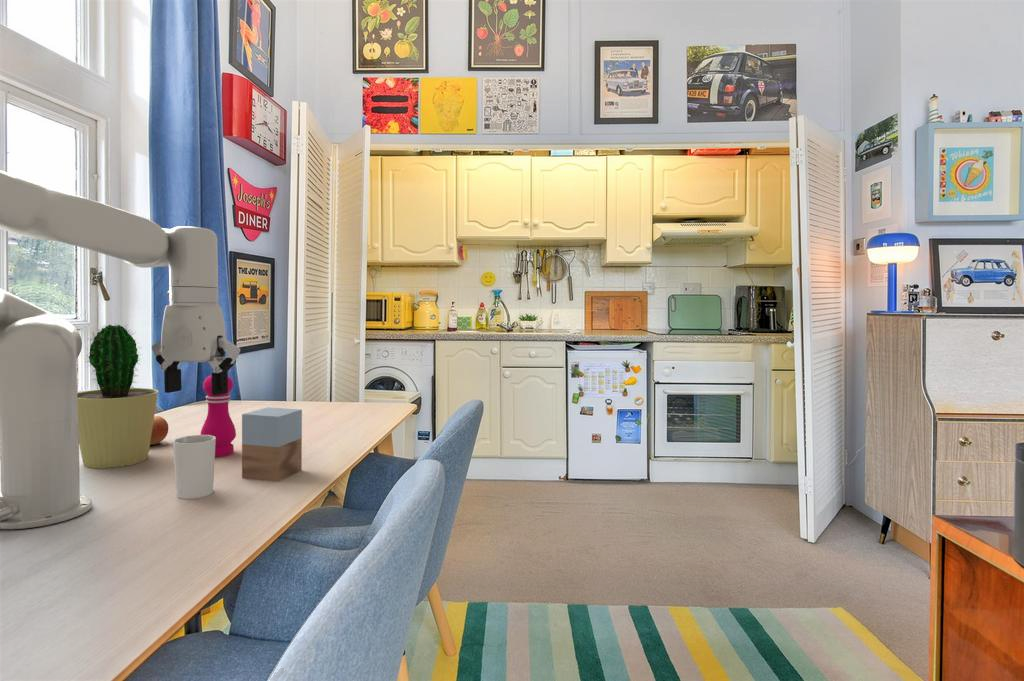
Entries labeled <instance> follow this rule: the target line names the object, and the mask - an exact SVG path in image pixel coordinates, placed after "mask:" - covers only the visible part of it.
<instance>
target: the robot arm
mask: <svg viewBox="0 0 1024 681" xmlns="http://www.w3.org/2000/svg"><path fill="white" fill-rule="evenodd" d="M0 230H3V231H6V232H8V233H9V232H10V233H12V234H16V235H20V236H23V237H27V238H31V239H34V240H42V241H52V242H59V243H63V244H66V245H67V244H68V245H71V246H75V247H79V248H82V249H86V250H89V251H93V252H96V253H99V254H102V255H106V256H109V257H112V258H115V259H119V260H122V261H123V262H125V263H126V264H128V265H130V266H132V267H136V268H143V269H146V268H160V267H168V273H169V274H168V276H169V290H168V291H167V292H166V297H167V298H168V299H169V304H168V305H167V304H166V306H165V308H164V311H163V312H164V313H163V317H162V318H163V319H162V324H161V336H160V337H161V338H160V339H161V340H160V341H158V342H156V343H154V344H153V345H152V346H151V349H152V351H153V352H152V353H154V354H153V355H154V356H155V360H156V362H157V363H158V364H159V366H160V369H161V371H164V372H163V374H164V376H163V377H164V378H163V380H164V393H167V394H170V393H175V392H180V391H181V390H182V389H183V388H182V369H181V368H179V367H180V366H181V364H182V362H184V363H208V364H209V365H210V367H211V368H212V369H213V372H212V373H211V375H212V394H213V395H215V396H217V395H221V394H226V393H227V392H228V376H229V372H230V371H231V370H232V367H234V365H235V364H237V360H238V357H239V355H240V353H241V348H240V347H239V346H237V345H236V344H234V343H233V342H231V341H229V340H227V332H226V324H225V318H224V313H223V308H222V306H221V305H220V304H219V258H218V256H219V254H218V253H219V250H218V246H219V245H218V236H217V234H216V233H215V231H214V230H211V229H209V228H207V227H201V226H200V227H199V226H188V225H187V226H185V225H184V226H175V227H173V228H163V227H161V225H159V224H158V223H156V222H154V221H153V220H151V219H149V218H146V217H144V216H142V215H138V214H135V213H133V212H129V211H126V210H123V209H121V208H117V207H115V206H112V205H109V204H105V203H103V202H100V201H96V200H93V199H90V198H87V197H83V196H80V195H76V194H74V193H69V192H67V191H64V190H62V189H59V188H55V187H52V186H48V185H46V184H43V183H40V182H36V181H34V180H30V179H27V178H25V177H22V176H18V175H16V174H12V173H9V172H6V171H4V170H1V169H0ZM82 348H83V340H82V337H81V334H80V332H79V330H78V329H77V328H76V326H74V324H71V323H70V322H69V321H68V320H65V319H64V318H62V317H59V315H55V314H53V313H51V312H50V311H47V310H46V309H43V308H41V307H39V306H37V305H35V304H33V303H30V301H27V300H25V299H24V298H23V299H22V298H20V297H19V296H16V295H15V294H12V293H10V292H8V291H6V290H4V289H2V288H0V529H1V530H21V529H31V528H38V527H39V528H40V527H44V526H49V525H53V524H58V523H61V522H66V521H68V520H71V519H74V518H77V517H79V516H81V515H83V514H85V513H86V512H88V511H89V510H90V509H92V506H93V502H92V498H91V497H89V496H86V495H82V494H81V488H80V486H81V484H80V480H81V478H80V445H79V420H78V393H79V392H78V376H77V373H78V371H77V361H78V360H77V359H78V357H80V354H81V352H82ZM214 371H215V373H214Z"/></svg>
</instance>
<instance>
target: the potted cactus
mask: <svg viewBox="0 0 1024 681" xmlns="http://www.w3.org/2000/svg"><path fill="white" fill-rule="evenodd" d="M123 325H124V324H123ZM123 325H120V324H118V323H117V324H116V323H115V325H112V324H108V325H105V326H104V327H101V329H98V328H96V329H97V330H98V331H97V330H96V331H97V333H96V335H95V332H92V336H93V337H92V336H91V339H90V338H88V337H87V340H88V341H90V342H91V343H90V345H88V346H87V348H86V347H85V349H86V350H87V352H88V355H87V357H85V360H86V359H87V360H86V361H85V363H87V364H88V363H89V365H87V366H86V368H87V367H89V366H90V367H91V366H92V367H93V368H94V369H93V371H92V372H91V374H93V373H94V375H95V378H93V379H91V381H94V382H93V383H97V384H98V385H96V387H97V386H99V387H98V389H92V390H85V391H80V392H78V420H79V451H80V455H81V460H82V464H83V466H84V467H86V468H89V467H90V468H91V469H111V468H110V467H113V468H120V467H119V466H121V467H126V466H125V465H127V466H131V465H130V464H132V465H135V463H136V464H138V463H141V462H144V461H147V459H148V456H149V452H150V446H151V445H150V440H151V433H152V427H153V421H154V416H155V413H156V408H157V401H158V393H159V390H158V389H155V388H149V387H147V388H145V387H144V388H143V387H133V386H132V384H133V383H134V382H135V383H138V382H137V381H135V380H134V377H138V376H139V377H140V375H138V374H135V371H139V369H138V368H137V367H136V365H137V364H138V365H141V364H140V361H141V359H139V356H141V354H140V351H138V350H139V349H142V347H141V346H138V347H137V344H139V342H136V339H135V338H133V335H134V334H135V333H136V332H133V329H131V331H130V329H128V327H127V326H128V324H125V325H124V326H123ZM132 332H133V335H132ZM140 347H141V348H140ZM88 348H89V349H88Z"/></svg>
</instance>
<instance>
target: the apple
mask: <svg viewBox="0 0 1024 681" xmlns="http://www.w3.org/2000/svg"><path fill="white" fill-rule="evenodd" d="M168 433H169V424H168V422H167V420H166V419H165V418H164V417H162V416H159V415H157V416H155V415H154V421H153V427H152V433H151V440H150V446H151V445H157V444H159V443H162V442H163V441H164V440H165V439H166V437H167V436H168Z"/></svg>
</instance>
